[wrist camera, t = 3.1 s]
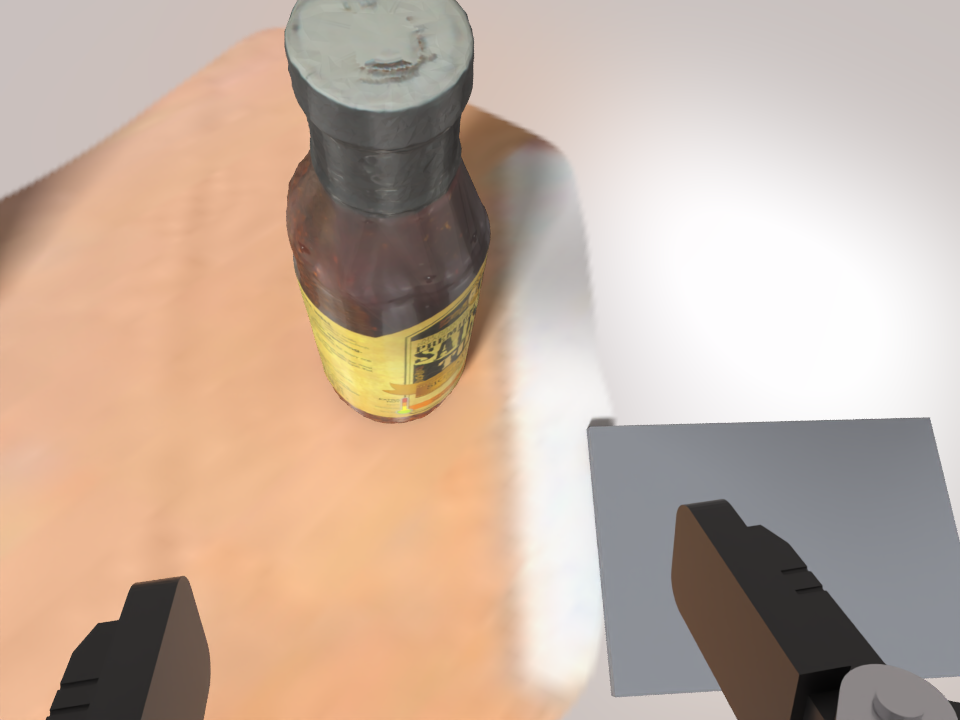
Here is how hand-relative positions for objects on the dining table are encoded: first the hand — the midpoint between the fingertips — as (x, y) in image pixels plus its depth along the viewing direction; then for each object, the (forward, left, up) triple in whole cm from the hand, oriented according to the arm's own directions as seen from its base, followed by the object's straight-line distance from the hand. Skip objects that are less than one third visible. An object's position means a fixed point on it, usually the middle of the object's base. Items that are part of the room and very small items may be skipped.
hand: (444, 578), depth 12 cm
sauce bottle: (+5, +9, -20) cm, 23 cm away
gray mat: (+13, -8, -20) cm, 25 cm away
